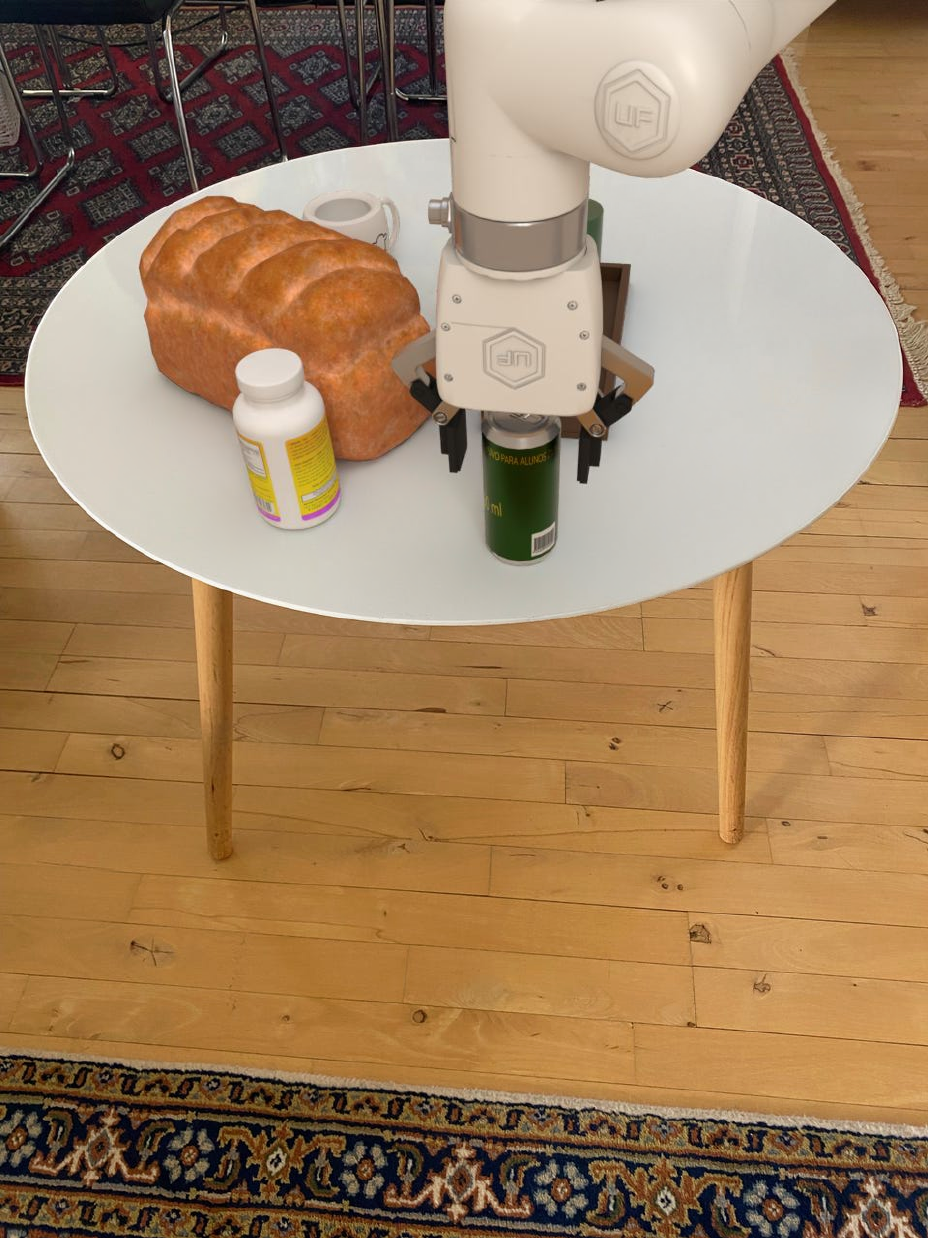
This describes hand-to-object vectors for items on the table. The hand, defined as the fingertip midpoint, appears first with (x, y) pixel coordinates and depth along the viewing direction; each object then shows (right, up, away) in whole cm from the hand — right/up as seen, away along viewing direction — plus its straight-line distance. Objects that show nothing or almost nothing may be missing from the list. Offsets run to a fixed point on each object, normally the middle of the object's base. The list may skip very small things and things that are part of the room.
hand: (520, 464), depth 69 cm
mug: (-14, +25, +34) cm, 45 cm away
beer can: (0, -5, +6) cm, 8 cm away
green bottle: (+7, +20, +27) cm, 35 cm away
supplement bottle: (-17, -2, +10) cm, 20 cm away
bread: (-19, +10, +21) cm, 30 cm away
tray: (+5, +14, +23) cm, 27 cm away
